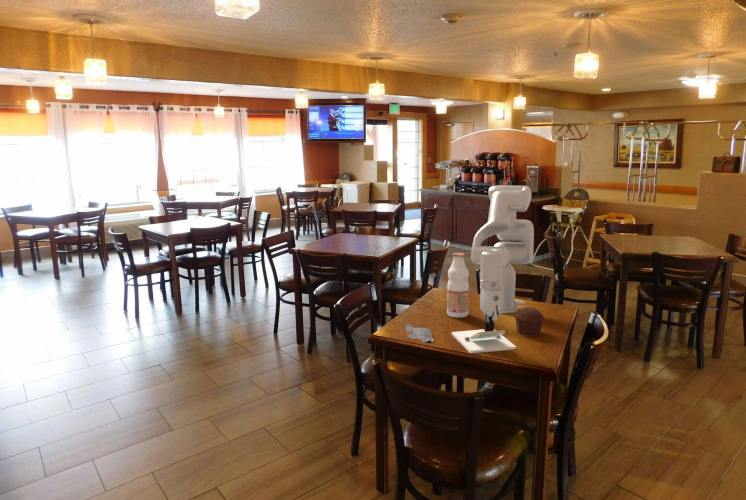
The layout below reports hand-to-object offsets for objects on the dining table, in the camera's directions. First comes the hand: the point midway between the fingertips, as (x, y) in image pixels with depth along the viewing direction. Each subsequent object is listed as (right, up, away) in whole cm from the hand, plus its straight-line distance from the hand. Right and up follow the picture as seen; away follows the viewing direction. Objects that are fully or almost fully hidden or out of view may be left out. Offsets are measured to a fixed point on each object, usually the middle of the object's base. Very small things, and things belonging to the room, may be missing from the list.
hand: (489, 331), depth 195 cm
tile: (0, -1, +2) cm, 2 cm away
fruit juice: (-6, +1, +39) cm, 39 cm away
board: (-1, -5, +7) cm, 8 cm away
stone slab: (-25, -4, +15) cm, 29 cm away
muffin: (+20, -3, +16) cm, 25 cm away
